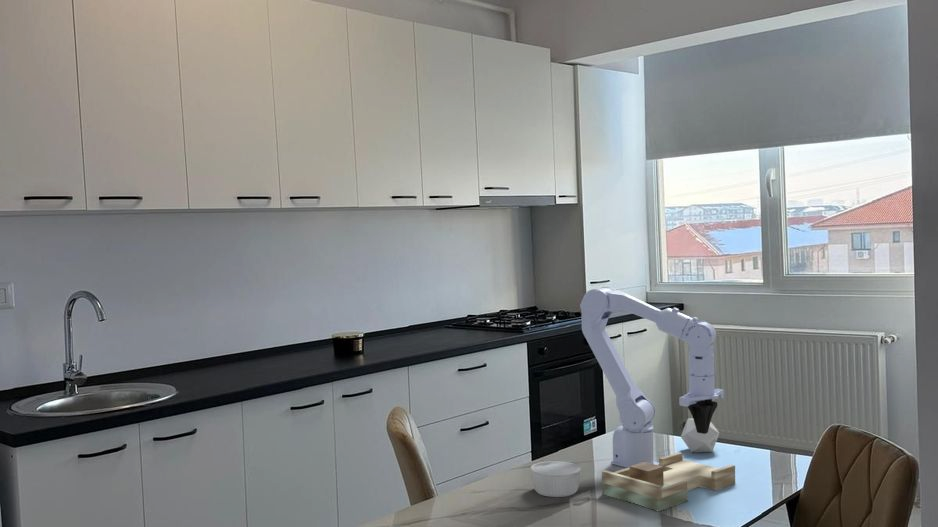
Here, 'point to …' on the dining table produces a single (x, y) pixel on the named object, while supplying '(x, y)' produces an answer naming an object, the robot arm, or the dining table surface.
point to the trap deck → (666, 482)
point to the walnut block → (648, 473)
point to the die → (699, 437)
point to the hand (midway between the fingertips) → (702, 432)
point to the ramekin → (555, 478)
